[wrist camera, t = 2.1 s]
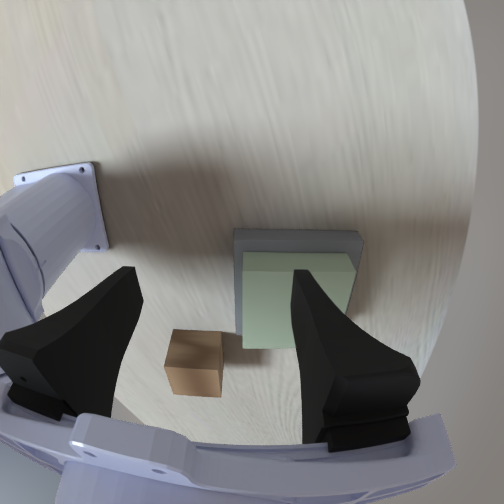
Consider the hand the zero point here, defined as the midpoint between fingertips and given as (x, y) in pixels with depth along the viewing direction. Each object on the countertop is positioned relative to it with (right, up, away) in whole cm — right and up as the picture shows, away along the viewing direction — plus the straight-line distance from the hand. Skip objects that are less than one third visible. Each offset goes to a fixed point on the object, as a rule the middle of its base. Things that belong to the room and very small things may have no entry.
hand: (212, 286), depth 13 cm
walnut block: (-4, -9, +17) cm, 20 cm away
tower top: (+5, -2, +11) cm, 12 cm away
